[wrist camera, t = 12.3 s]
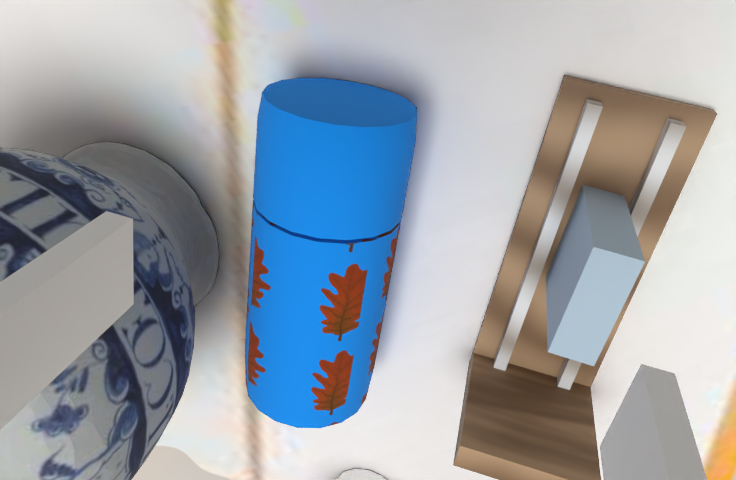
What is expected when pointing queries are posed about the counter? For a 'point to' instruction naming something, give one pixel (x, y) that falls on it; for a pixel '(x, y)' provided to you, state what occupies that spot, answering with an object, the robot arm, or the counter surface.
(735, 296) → the counter surface
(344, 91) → the thermos
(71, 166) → the apothecary jar
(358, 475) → the white cup
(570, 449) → the track board
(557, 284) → the grey rectangular block
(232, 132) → the counter surface
